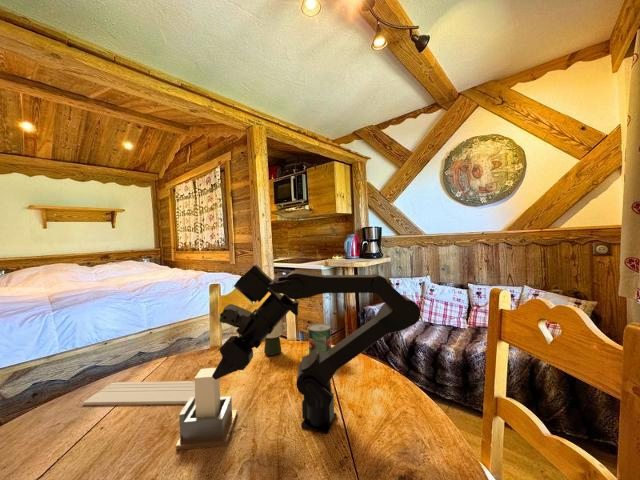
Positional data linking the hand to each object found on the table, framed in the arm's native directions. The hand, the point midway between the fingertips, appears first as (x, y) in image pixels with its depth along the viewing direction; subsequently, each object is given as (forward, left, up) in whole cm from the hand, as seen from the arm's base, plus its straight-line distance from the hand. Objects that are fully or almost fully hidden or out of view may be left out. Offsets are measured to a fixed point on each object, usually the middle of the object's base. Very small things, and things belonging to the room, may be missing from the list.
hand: (221, 367), depth 61 cm
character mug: (+10, -37, -14) cm, 41 cm away
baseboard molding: (+28, -5, -14) cm, 32 cm away
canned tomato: (-8, -39, -14) cm, 42 cm away
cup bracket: (+2, +2, -13) cm, 14 cm away
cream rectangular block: (+2, +2, -12) cm, 13 cm away
